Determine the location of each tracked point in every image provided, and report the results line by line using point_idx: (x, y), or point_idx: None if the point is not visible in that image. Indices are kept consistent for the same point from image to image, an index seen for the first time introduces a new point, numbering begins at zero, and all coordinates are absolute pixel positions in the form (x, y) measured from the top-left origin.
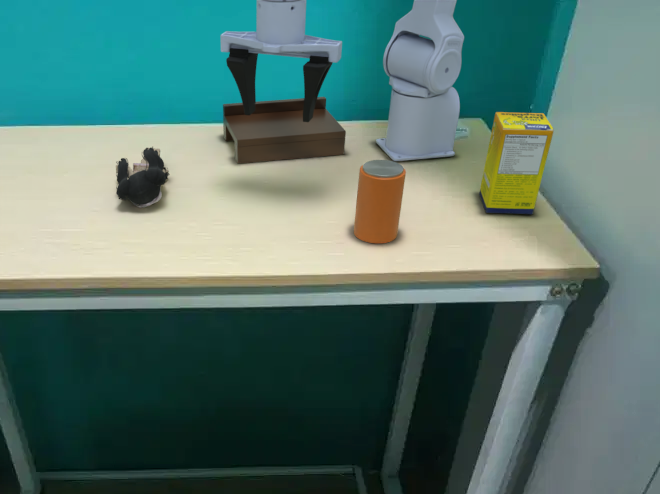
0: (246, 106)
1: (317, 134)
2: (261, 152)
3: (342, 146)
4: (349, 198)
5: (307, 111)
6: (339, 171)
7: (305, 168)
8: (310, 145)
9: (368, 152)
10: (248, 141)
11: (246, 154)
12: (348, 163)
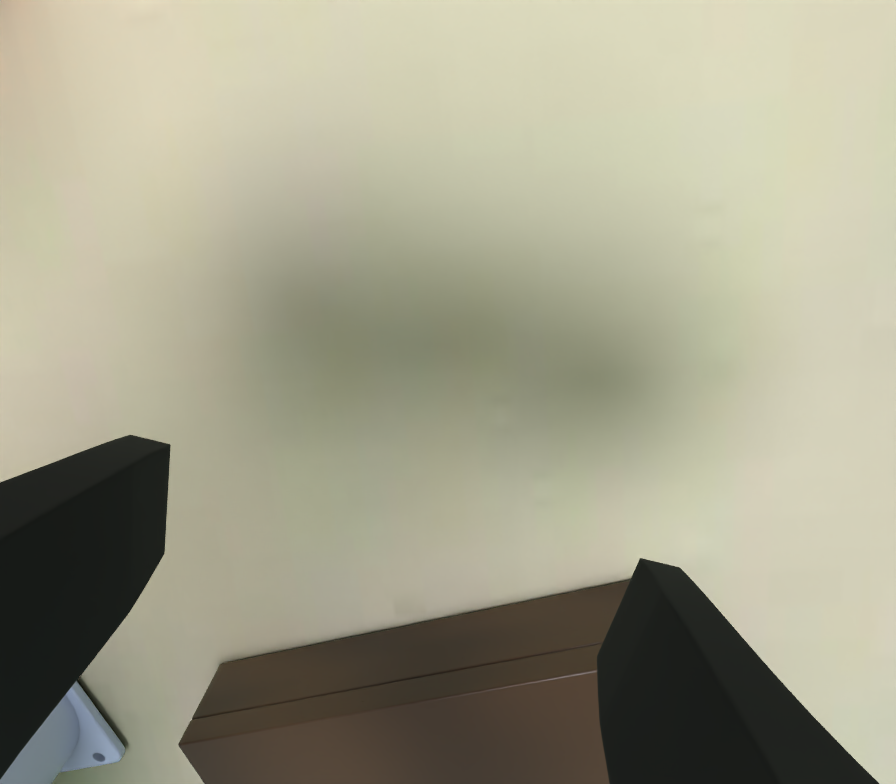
0: (690, 605)
1: (292, 720)
2: (536, 628)
3: (214, 688)
4: (118, 281)
5: (65, 461)
6: (210, 529)
7: (348, 549)
8: (331, 677)
9: (137, 681)
10: None
11: (602, 612)
12: (190, 596)
